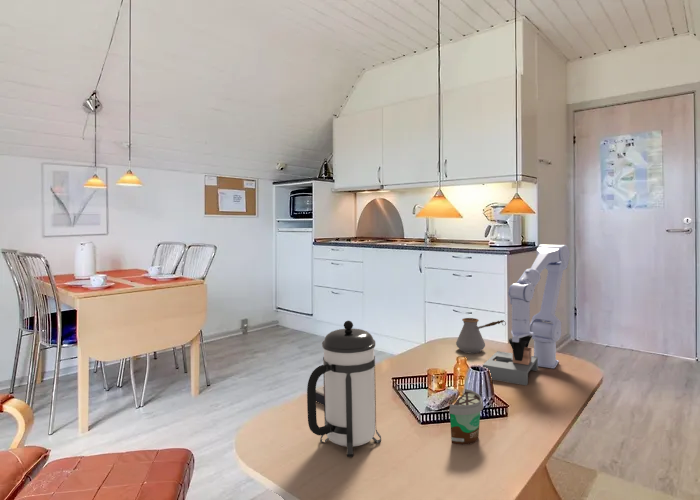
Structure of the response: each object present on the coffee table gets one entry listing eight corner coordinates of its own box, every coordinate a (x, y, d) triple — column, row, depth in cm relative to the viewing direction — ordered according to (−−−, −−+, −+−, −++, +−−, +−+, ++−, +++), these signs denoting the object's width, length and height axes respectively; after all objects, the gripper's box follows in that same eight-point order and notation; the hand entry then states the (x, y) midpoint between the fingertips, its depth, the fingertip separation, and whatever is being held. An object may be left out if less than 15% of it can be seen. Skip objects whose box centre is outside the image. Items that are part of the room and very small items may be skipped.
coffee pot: (450, 350, 184) (449, 314, 183) (467, 345, 191) (467, 310, 190) (496, 362, 167) (496, 322, 166) (513, 356, 174) (513, 318, 173)
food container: (475, 452, 104) (475, 410, 103) (449, 446, 107) (449, 405, 106) (489, 430, 114) (489, 392, 113) (465, 425, 117) (465, 388, 117)
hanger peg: (516, 367, 157) (516, 345, 156) (531, 369, 154) (531, 347, 153) (512, 371, 153) (512, 349, 152) (528, 373, 150) (528, 351, 149)
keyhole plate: (497, 363, 167) (497, 351, 166) (537, 369, 159) (537, 356, 159) (482, 377, 152) (482, 364, 151) (526, 385, 144) (526, 371, 144)
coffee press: (321, 426, 118) (318, 314, 116) (382, 428, 116) (380, 314, 114) (308, 462, 101) (304, 330, 99) (379, 465, 99) (377, 331, 97)
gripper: (528, 324, 144) (528, 365, 145) (537, 315, 156) (537, 354, 157) (505, 322, 148) (505, 362, 149) (516, 313, 160) (516, 351, 161)
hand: (520, 358), depth 153 cm, fingers closed on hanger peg, 5 cm apart
